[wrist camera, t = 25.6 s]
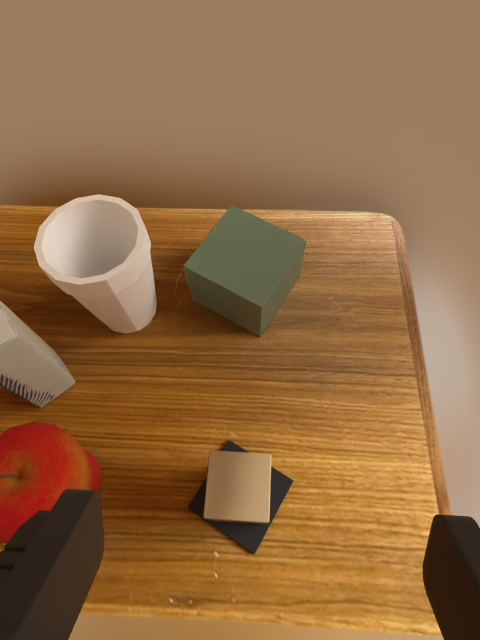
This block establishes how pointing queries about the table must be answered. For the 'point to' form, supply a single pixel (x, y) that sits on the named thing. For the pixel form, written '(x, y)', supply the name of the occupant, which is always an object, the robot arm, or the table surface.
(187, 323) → the table surface
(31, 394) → the box
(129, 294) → the foam cup
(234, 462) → the block
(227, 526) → the mat
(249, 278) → the stand
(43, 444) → the apple
